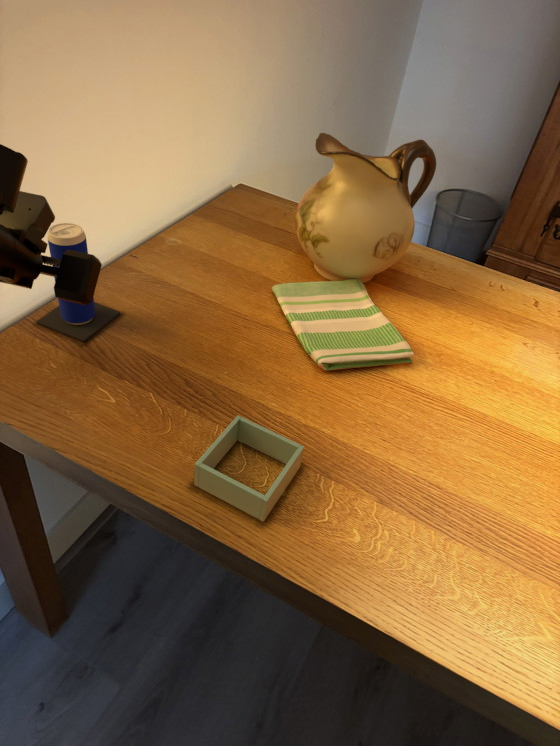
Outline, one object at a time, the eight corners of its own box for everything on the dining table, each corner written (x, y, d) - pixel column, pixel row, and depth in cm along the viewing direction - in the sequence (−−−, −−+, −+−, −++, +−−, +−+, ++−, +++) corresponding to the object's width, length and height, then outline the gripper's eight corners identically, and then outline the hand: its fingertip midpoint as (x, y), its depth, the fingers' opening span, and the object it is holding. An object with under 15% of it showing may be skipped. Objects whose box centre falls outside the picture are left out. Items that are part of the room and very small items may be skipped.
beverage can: (85, 304, 89) (73, 219, 80) (102, 319, 87) (92, 233, 77) (55, 314, 86) (39, 227, 77) (71, 330, 84) (57, 242, 74)
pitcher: (271, 276, 104) (287, 142, 87) (313, 230, 121) (333, 110, 104) (383, 313, 99) (423, 177, 82) (410, 259, 116) (448, 137, 100)
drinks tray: (263, 522, 63) (266, 501, 60) (194, 485, 65) (194, 463, 63) (300, 467, 69) (304, 446, 67) (235, 435, 72) (237, 414, 70)
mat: (84, 342, 83) (83, 340, 83) (36, 323, 85) (36, 321, 85) (120, 313, 89) (120, 311, 89) (75, 296, 91) (75, 294, 91)
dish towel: (359, 286, 105) (362, 274, 103) (415, 364, 88) (420, 351, 87) (270, 292, 99) (272, 279, 98) (313, 376, 83) (315, 362, 81)
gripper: (86, 196, 62) (131, 242, 77) (-65, 165, 63) (9, 216, 79) (60, 290, 61) (111, 317, 76) (-92, 256, 62) (-12, 290, 78)
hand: (55, 283), depth 77 cm, fingers open, 9 cm apart
